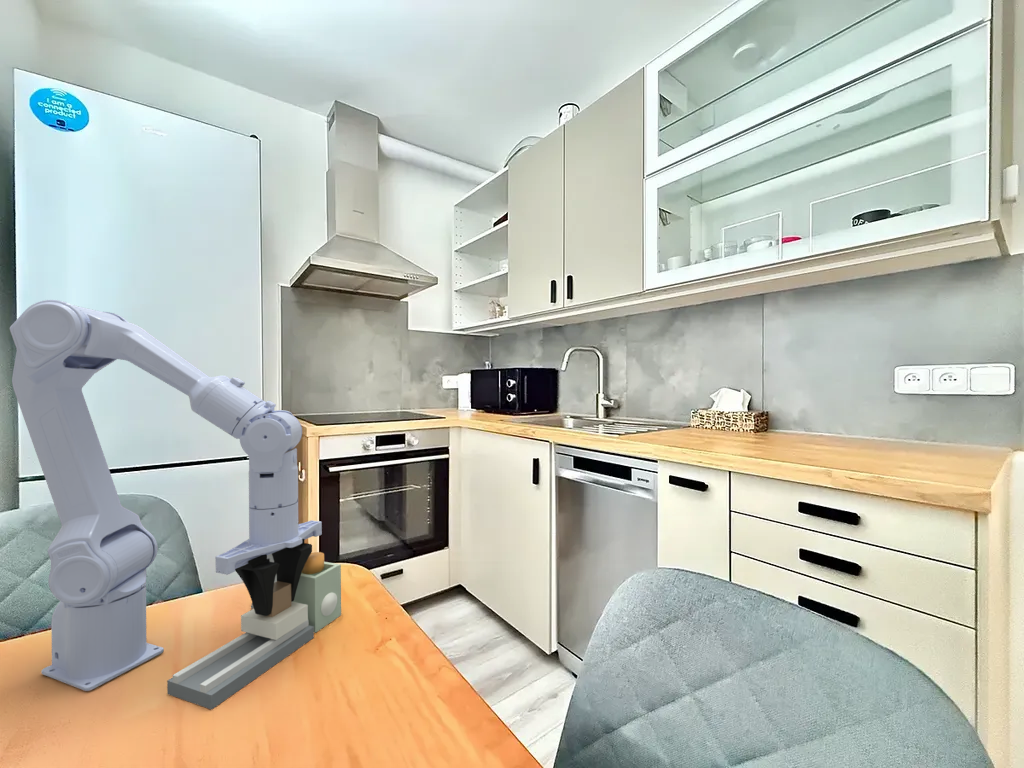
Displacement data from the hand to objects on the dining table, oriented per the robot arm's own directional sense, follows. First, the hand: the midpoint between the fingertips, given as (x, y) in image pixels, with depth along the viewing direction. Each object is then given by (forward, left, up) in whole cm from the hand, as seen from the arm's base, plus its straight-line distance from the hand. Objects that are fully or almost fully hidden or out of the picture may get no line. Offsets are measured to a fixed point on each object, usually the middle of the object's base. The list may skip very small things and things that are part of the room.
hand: (275, 606), depth 58 cm
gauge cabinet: (0, +6, -5) cm, 8 cm away
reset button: (0, +6, +2) cm, 7 cm away
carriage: (0, 0, -2) cm, 2 cm away
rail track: (0, -4, -5) cm, 6 cm away
